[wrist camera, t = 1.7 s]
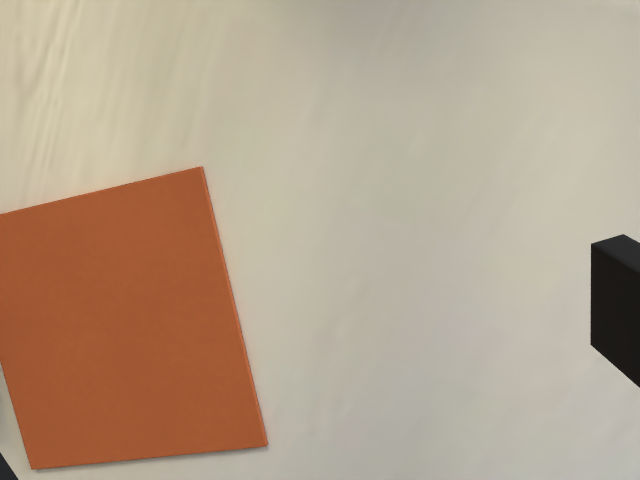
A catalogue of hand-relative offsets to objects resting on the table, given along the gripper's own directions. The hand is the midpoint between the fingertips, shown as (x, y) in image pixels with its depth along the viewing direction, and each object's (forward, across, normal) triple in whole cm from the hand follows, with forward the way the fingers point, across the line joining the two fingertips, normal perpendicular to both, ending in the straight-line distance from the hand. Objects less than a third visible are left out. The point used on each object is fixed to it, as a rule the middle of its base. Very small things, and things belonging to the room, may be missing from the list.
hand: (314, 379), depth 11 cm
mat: (+26, -14, -11) cm, 31 cm away
